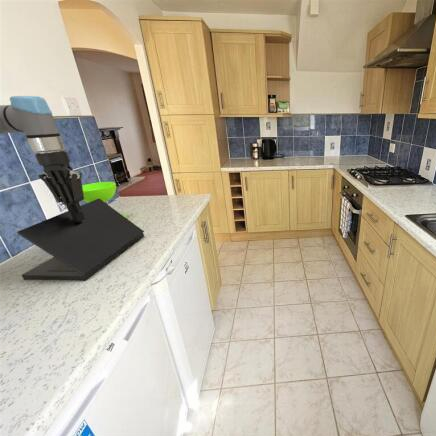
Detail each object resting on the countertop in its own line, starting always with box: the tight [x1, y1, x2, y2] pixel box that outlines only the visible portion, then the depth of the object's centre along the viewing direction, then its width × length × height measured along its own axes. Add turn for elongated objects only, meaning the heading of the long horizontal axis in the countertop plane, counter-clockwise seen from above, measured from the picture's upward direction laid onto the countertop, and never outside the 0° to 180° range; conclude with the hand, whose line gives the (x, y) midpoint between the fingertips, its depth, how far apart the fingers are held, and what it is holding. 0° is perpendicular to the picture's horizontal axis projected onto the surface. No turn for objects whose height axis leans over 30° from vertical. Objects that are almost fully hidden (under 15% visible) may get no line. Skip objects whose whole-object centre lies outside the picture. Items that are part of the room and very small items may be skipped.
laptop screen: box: [16, 199, 145, 276], centre depth 86 cm, size 21×30×1 cm
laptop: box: [21, 232, 145, 282], centre depth 90 cm, size 21×30×2 cm
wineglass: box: [82, 181, 128, 219], centre depth 115 cm, size 16×16×18 cm
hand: (79, 220), depth 85 cm, fingers closed
